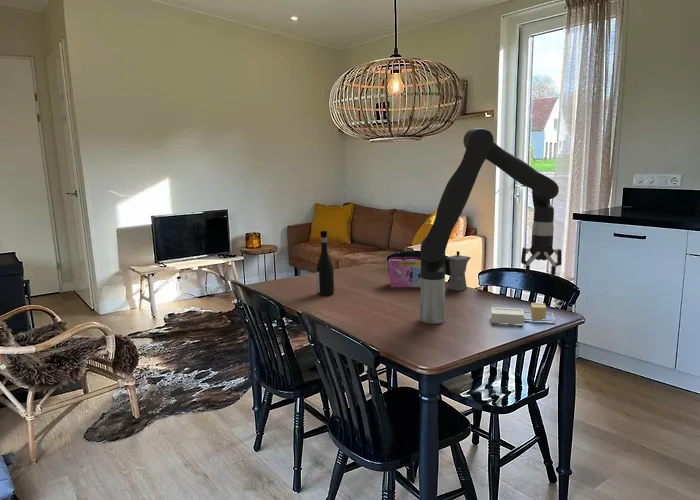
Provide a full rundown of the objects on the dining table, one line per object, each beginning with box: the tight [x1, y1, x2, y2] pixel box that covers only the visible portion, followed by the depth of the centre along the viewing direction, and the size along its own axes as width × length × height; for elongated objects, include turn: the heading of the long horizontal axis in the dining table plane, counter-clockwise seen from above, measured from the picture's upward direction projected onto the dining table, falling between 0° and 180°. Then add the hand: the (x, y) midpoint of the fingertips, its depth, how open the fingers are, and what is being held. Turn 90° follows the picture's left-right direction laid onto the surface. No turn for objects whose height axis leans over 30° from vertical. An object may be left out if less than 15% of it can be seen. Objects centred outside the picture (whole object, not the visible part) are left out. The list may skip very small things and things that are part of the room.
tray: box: [523, 310, 556, 323], centre depth 197 cm, size 11×10×1 cm
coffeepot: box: [445, 250, 472, 291], centre depth 242 cm, size 15×9×18 cm, turn 104°
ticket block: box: [490, 306, 524, 326], centre depth 194 cm, size 12×10×4 cm
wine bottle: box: [315, 230, 335, 297], centre depth 236 cm, size 8×8×30 cm
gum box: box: [387, 256, 421, 288], centre depth 251 cm, size 24×8×14 cm, turn 87°
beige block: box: [530, 302, 547, 320], centre depth 197 cm, size 5×6×5 cm
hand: (540, 275), depth 194 cm, fingers open, 8 cm apart
